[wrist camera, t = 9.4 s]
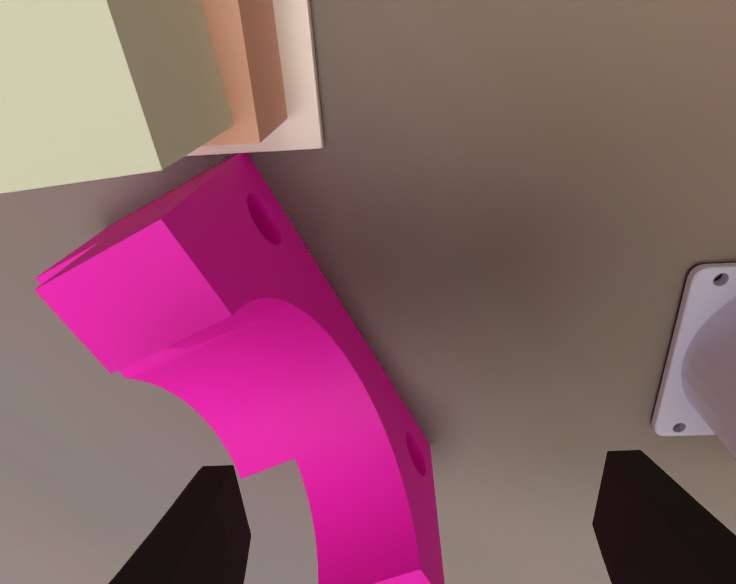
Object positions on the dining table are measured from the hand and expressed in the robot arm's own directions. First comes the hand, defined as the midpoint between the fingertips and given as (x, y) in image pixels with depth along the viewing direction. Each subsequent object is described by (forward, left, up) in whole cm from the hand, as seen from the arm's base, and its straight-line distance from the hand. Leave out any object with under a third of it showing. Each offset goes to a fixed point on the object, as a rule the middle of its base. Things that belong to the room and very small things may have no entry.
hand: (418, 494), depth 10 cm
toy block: (+5, +3, -11) cm, 12 cm away
